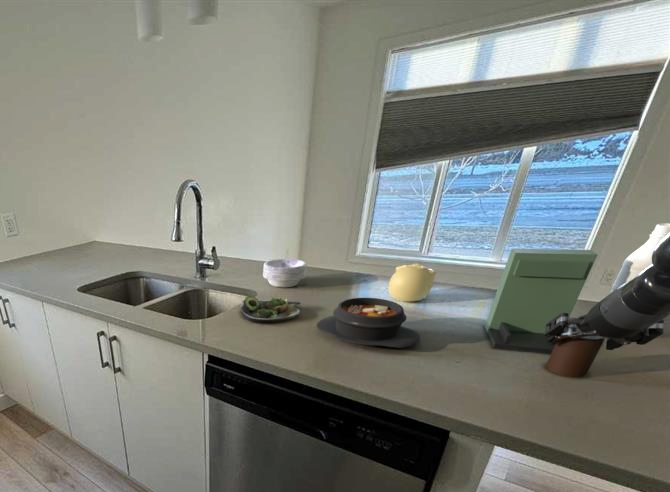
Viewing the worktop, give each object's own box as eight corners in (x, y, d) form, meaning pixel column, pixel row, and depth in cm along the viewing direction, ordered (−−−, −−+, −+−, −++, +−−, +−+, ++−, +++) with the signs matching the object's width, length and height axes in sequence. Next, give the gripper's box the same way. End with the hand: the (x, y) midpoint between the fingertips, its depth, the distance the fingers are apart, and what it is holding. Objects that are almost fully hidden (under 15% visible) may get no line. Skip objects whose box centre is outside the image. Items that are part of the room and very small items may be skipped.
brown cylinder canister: (559, 360, 88) (576, 324, 84) (594, 373, 83) (614, 335, 79) (537, 366, 87) (553, 330, 83) (572, 380, 82) (591, 342, 77)
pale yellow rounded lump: (433, 296, 127) (442, 262, 122) (420, 307, 121) (429, 271, 115) (394, 290, 135) (402, 258, 129) (380, 300, 128) (387, 266, 123)
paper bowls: (300, 277, 157) (302, 256, 153) (308, 289, 144) (311, 266, 140) (260, 279, 158) (261, 259, 155) (265, 291, 145) (266, 269, 141)
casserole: (303, 337, 109) (306, 308, 105) (334, 316, 120) (338, 289, 116) (403, 362, 93) (411, 329, 89) (429, 336, 104) (437, 304, 100)
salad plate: (289, 300, 136) (290, 286, 133) (314, 318, 120) (316, 303, 118) (233, 307, 134) (234, 293, 132) (252, 326, 119) (252, 311, 116)
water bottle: (583, 328, 101) (634, 222, 88) (620, 329, 98) (678, 221, 86) (599, 339, 95) (656, 228, 82) (639, 341, 93) (704, 227, 80)
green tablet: (484, 326, 106) (511, 248, 96) (553, 332, 100) (590, 249, 90) (493, 348, 96) (524, 263, 86) (571, 356, 90) (615, 265, 80)
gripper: (695, 290, 65) (629, 329, 79) (577, 285, 71) (536, 322, 85) (694, 333, 63) (627, 365, 78) (573, 324, 70) (532, 355, 84)
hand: (579, 342), depth 81 cm, fingers open, 8 cm apart
